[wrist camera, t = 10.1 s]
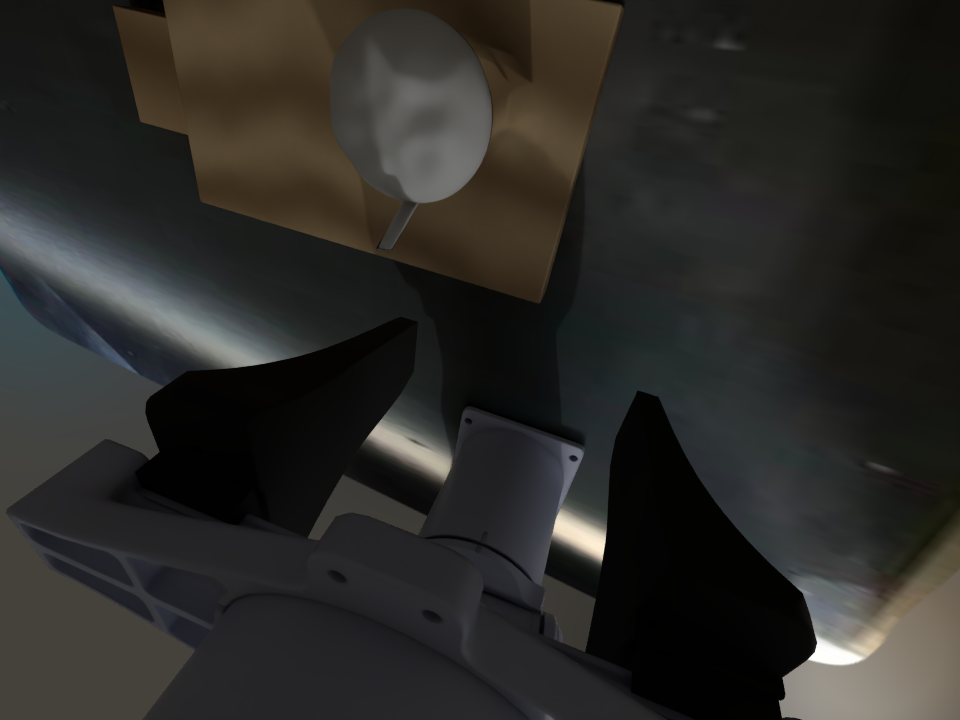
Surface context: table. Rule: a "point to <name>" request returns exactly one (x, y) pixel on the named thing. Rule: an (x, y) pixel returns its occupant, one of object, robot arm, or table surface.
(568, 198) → the board
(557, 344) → the table surface
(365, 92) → the milkshake
